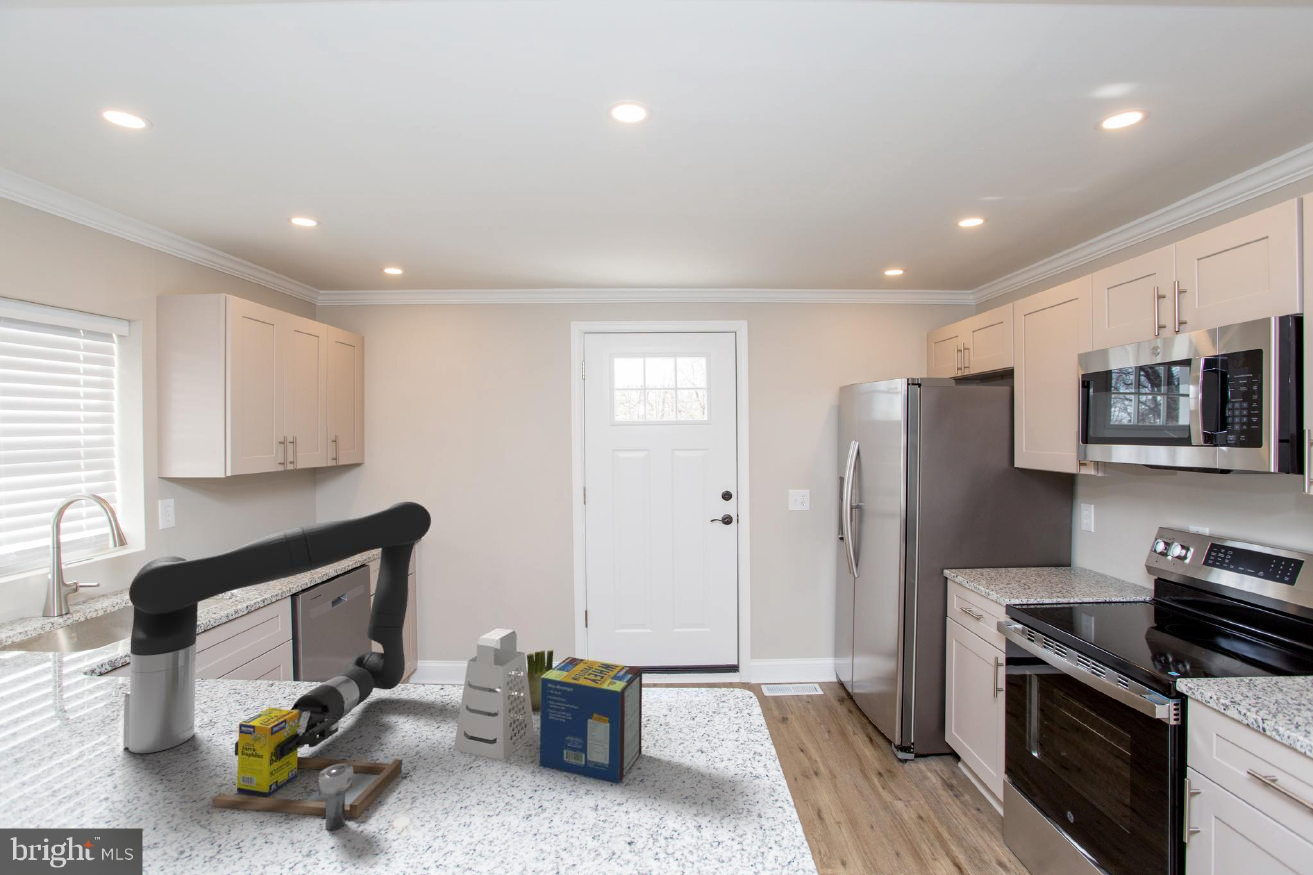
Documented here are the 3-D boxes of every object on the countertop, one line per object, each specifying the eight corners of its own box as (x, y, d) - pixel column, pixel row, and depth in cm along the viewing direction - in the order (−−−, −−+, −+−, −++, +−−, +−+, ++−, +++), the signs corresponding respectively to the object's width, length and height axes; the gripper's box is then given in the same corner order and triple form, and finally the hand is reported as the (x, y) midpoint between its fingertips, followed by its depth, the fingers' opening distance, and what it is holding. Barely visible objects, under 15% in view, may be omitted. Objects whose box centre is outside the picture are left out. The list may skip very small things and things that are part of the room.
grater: (534, 732, 112) (536, 628, 113) (503, 760, 103) (505, 646, 103) (488, 723, 116) (490, 622, 116) (453, 749, 106) (455, 638, 106)
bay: (212, 806, 89) (212, 793, 89) (273, 761, 101) (273, 750, 101) (357, 818, 86) (357, 804, 86) (401, 771, 99) (401, 759, 99)
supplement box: (267, 798, 91) (269, 727, 91) (235, 792, 92) (237, 723, 92) (298, 776, 97) (300, 710, 97) (267, 772, 98) (269, 706, 98)
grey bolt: (310, 834, 83) (311, 777, 83) (330, 814, 87) (331, 760, 87) (339, 836, 82) (340, 779, 82) (358, 816, 87) (359, 762, 87)
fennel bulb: (553, 702, 126) (554, 646, 126) (552, 713, 121) (553, 654, 121) (525, 703, 125) (526, 647, 125) (523, 714, 120) (524, 655, 120)
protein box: (566, 737, 111) (567, 655, 111) (642, 753, 106) (643, 667, 106) (537, 766, 101) (538, 676, 101) (619, 785, 96) (621, 690, 96)
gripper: (291, 681, 109) (215, 724, 93) (364, 686, 108) (300, 730, 91) (290, 722, 109) (214, 772, 93) (363, 727, 108) (299, 778, 91)
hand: (257, 751), depth 92 cm, fingers closed on supplement box, 6 cm apart
